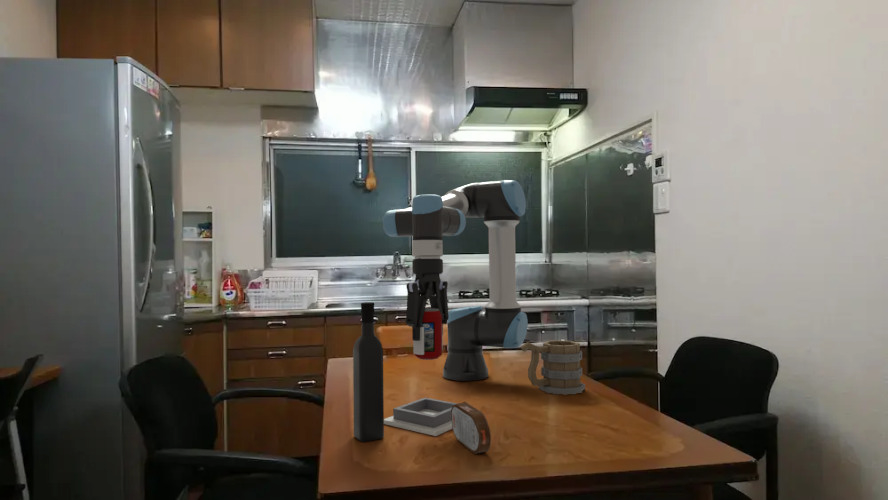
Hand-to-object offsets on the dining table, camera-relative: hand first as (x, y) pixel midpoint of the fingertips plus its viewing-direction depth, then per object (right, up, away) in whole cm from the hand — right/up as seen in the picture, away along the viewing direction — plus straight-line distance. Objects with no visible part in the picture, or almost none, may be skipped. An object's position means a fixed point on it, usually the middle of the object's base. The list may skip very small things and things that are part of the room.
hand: (428, 351), depth 131 cm
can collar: (0, -17, 0) cm, 17 cm away
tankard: (+36, -17, +29) cm, 49 cm away
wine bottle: (-13, -17, -11) cm, 24 cm away
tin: (+9, -17, -18) cm, 26 cm away
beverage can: (0, -2, 0) cm, 2 cm away
